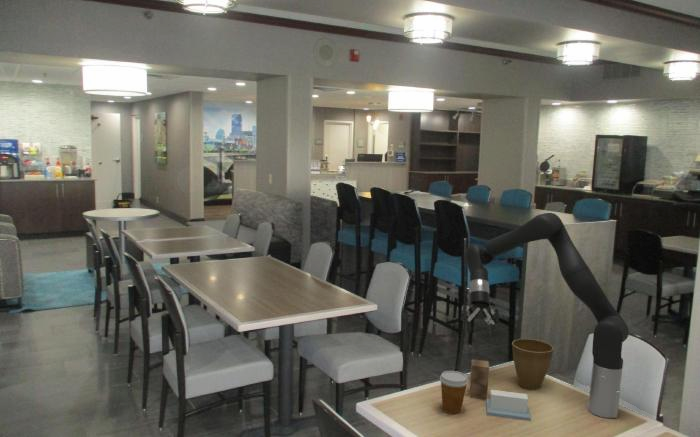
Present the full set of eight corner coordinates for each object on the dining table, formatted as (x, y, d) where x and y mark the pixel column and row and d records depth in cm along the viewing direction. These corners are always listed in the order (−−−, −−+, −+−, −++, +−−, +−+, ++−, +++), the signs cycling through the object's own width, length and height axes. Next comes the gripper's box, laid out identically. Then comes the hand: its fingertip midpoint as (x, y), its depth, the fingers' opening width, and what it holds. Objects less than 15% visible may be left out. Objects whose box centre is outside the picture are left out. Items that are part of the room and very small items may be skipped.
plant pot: (556, 386, 211) (560, 346, 209) (537, 397, 201) (541, 355, 199) (521, 373, 222) (524, 335, 219) (501, 383, 211) (504, 343, 209)
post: (486, 392, 203) (488, 361, 202) (486, 399, 197) (489, 367, 196) (469, 390, 204) (471, 359, 203) (469, 397, 199) (471, 365, 197)
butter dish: (527, 407, 193) (528, 390, 192) (530, 420, 183) (532, 403, 182) (486, 401, 196) (487, 385, 195) (487, 414, 186) (488, 398, 185)
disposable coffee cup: (467, 405, 192) (470, 373, 190) (464, 418, 183) (466, 383, 181) (440, 400, 195) (442, 368, 193) (435, 412, 186) (437, 378, 184)
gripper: (464, 287, 211) (465, 328, 204) (500, 292, 213) (502, 333, 205) (458, 293, 218) (458, 334, 210) (493, 298, 219) (494, 338, 212)
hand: (480, 334), depth 208 cm, fingers open, 8 cm apart
